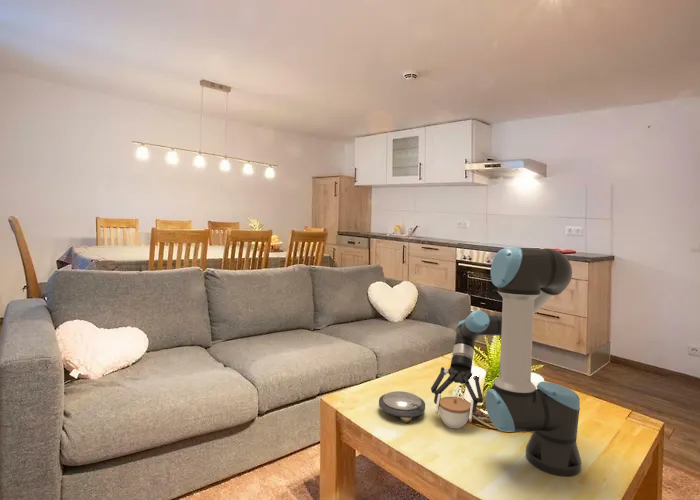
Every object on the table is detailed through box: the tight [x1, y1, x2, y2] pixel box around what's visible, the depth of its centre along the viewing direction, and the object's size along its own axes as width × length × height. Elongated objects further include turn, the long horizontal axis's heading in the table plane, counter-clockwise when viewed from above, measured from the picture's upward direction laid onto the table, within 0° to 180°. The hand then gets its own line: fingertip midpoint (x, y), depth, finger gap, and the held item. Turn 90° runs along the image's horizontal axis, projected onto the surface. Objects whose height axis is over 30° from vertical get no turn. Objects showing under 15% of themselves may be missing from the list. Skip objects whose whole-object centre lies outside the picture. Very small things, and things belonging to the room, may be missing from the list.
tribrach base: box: [378, 390, 426, 424], centre depth 155 cm, size 17×17×5 cm
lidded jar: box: [439, 396, 471, 430], centre depth 147 cm, size 11×11×9 cm
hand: (453, 416), depth 145 cm, fingers closed on lidded jar, 11 cm apart
